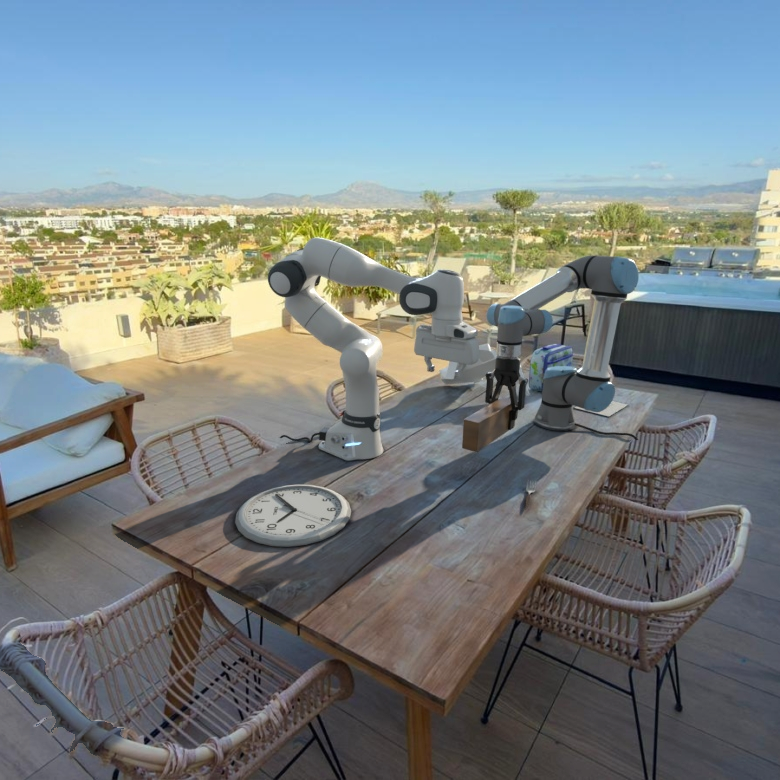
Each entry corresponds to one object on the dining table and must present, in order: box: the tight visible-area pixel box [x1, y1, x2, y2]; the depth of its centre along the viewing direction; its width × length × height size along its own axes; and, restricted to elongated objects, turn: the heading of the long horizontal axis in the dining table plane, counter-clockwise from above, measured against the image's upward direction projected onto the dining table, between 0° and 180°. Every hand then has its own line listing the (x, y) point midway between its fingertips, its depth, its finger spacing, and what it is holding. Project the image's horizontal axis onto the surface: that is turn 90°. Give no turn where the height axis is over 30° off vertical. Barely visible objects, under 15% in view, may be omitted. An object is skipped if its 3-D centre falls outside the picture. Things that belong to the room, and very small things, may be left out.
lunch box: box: [528, 343, 574, 392], centre depth 248 cm, size 26×11×21 cm, turn 134°
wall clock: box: [234, 484, 352, 548], centre depth 138 cm, size 30×2×30 cm
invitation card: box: [573, 400, 629, 418], centre depth 226 cm, size 21×1×15 cm
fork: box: [525, 478, 537, 511], centre depth 148 cm, size 3×16×2 cm, turn 160°
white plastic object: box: [438, 327, 531, 397], centre depth 245 cm, size 37×45×31 cm
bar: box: [461, 396, 516, 453], centre depth 160 cm, size 26×5×9 cm, turn 143°
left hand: (444, 374), depth 154 cm, fingers open, 8 cm apart
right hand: (502, 426), depth 169 cm, fingers closed on bar, 5 cm apart
